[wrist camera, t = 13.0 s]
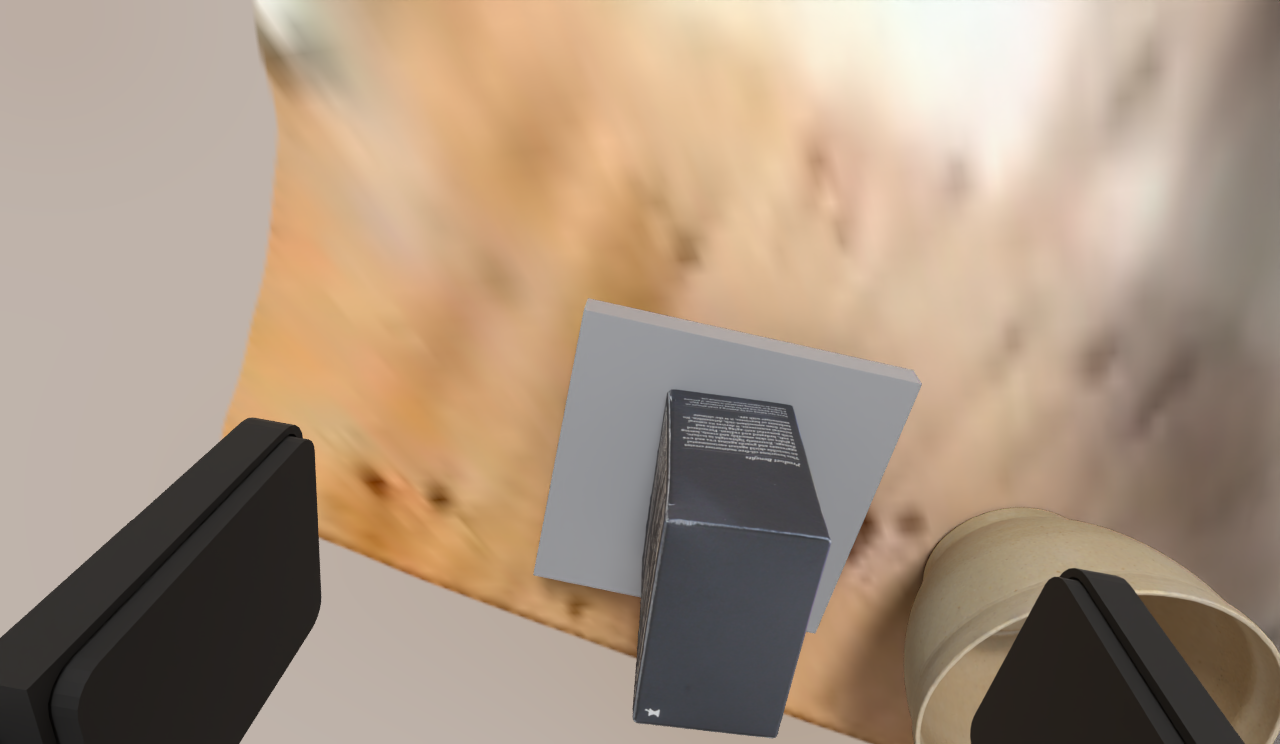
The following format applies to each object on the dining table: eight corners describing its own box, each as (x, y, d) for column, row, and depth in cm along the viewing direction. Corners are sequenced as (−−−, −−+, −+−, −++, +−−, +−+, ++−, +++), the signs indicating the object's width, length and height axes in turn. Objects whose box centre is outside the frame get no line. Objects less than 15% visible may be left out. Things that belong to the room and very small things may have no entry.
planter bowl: (1033, 702, 48) (1120, 878, 38) (815, 612, 46) (849, 773, 36) (1219, 523, 42) (1381, 681, 32) (974, 408, 39) (1068, 538, 30)
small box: (760, 575, 40) (782, 748, 31) (640, 559, 40) (624, 727, 31) (801, 402, 35) (842, 544, 26) (665, 385, 35) (656, 520, 26)
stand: (900, 349, 38) (921, 384, 35) (805, 584, 45) (815, 633, 42) (594, 281, 38) (584, 309, 34) (546, 529, 45) (533, 575, 41)
